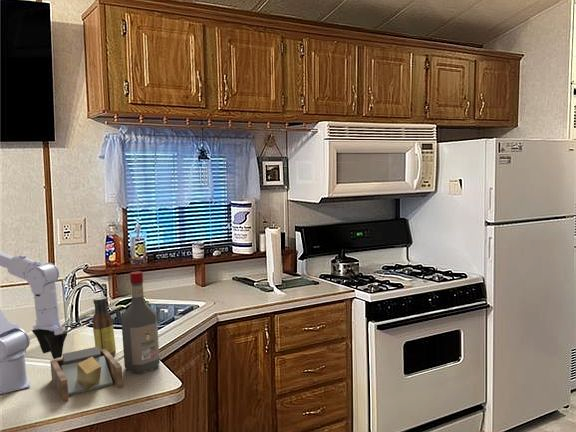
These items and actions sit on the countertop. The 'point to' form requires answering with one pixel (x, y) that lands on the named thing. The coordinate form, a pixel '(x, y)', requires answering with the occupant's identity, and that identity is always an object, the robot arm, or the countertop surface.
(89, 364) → the yellow wooden block
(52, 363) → the frame
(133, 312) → the liquor
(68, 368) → the trapdoor
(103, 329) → the sauce bottle
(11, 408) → the countertop surface
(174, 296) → the countertop surface
